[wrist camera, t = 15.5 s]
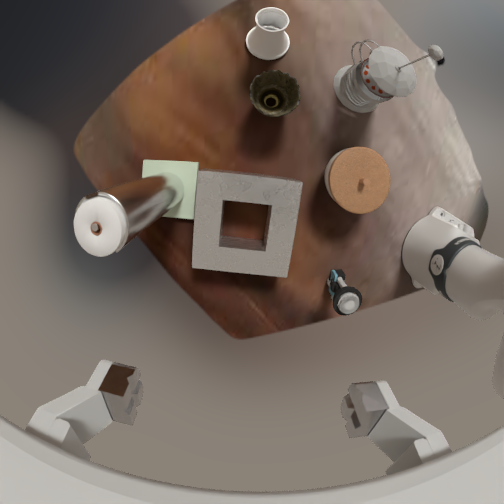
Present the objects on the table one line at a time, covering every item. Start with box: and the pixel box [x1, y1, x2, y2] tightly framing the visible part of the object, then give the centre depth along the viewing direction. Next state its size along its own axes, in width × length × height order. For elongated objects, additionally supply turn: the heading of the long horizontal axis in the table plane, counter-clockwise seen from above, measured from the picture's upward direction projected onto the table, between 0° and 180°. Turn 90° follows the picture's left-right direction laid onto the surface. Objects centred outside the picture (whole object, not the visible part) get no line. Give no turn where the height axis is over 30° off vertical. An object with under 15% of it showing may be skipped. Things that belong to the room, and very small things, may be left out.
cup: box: [250, 70, 301, 117], centre depth 38 cm, size 8×7×8 cm
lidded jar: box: [324, 147, 390, 214], centre depth 42 cm, size 11×11×9 cm
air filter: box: [74, 172, 184, 257], centre depth 34 cm, size 6×6×25 cm
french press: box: [334, 40, 443, 113], centre depth 29 cm, size 10×12×25 cm
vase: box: [246, 7, 290, 60], centre depth 33 cm, size 8×8×10 cm
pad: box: [142, 160, 199, 219], centre depth 46 cm, size 10×10×1 cm
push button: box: [327, 270, 362, 315], centre depth 49 cm, size 7×5×10 cm
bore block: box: [192, 169, 303, 278], centre depth 46 cm, size 16×16×6 cm
